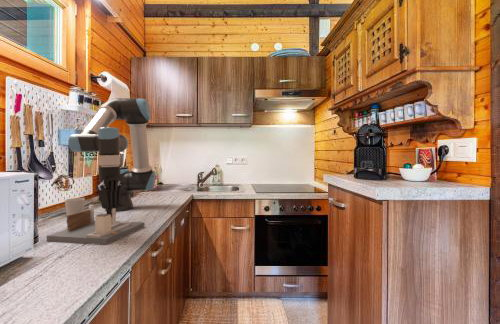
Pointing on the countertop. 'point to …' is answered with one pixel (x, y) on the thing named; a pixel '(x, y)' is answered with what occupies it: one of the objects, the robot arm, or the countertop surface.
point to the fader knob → (102, 223)
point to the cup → (74, 205)
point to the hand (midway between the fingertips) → (111, 224)
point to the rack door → (78, 219)
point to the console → (89, 232)
